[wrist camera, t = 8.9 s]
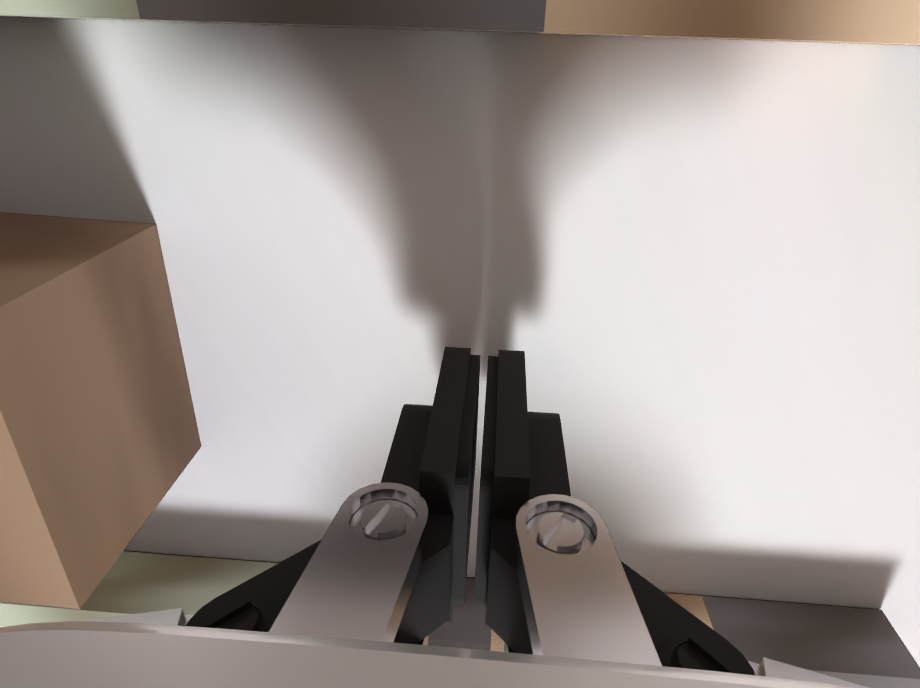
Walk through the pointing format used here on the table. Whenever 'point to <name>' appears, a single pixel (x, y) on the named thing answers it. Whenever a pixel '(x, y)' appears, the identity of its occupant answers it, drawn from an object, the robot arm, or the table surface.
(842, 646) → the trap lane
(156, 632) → the robot arm
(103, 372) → the walnut block
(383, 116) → the table surface
